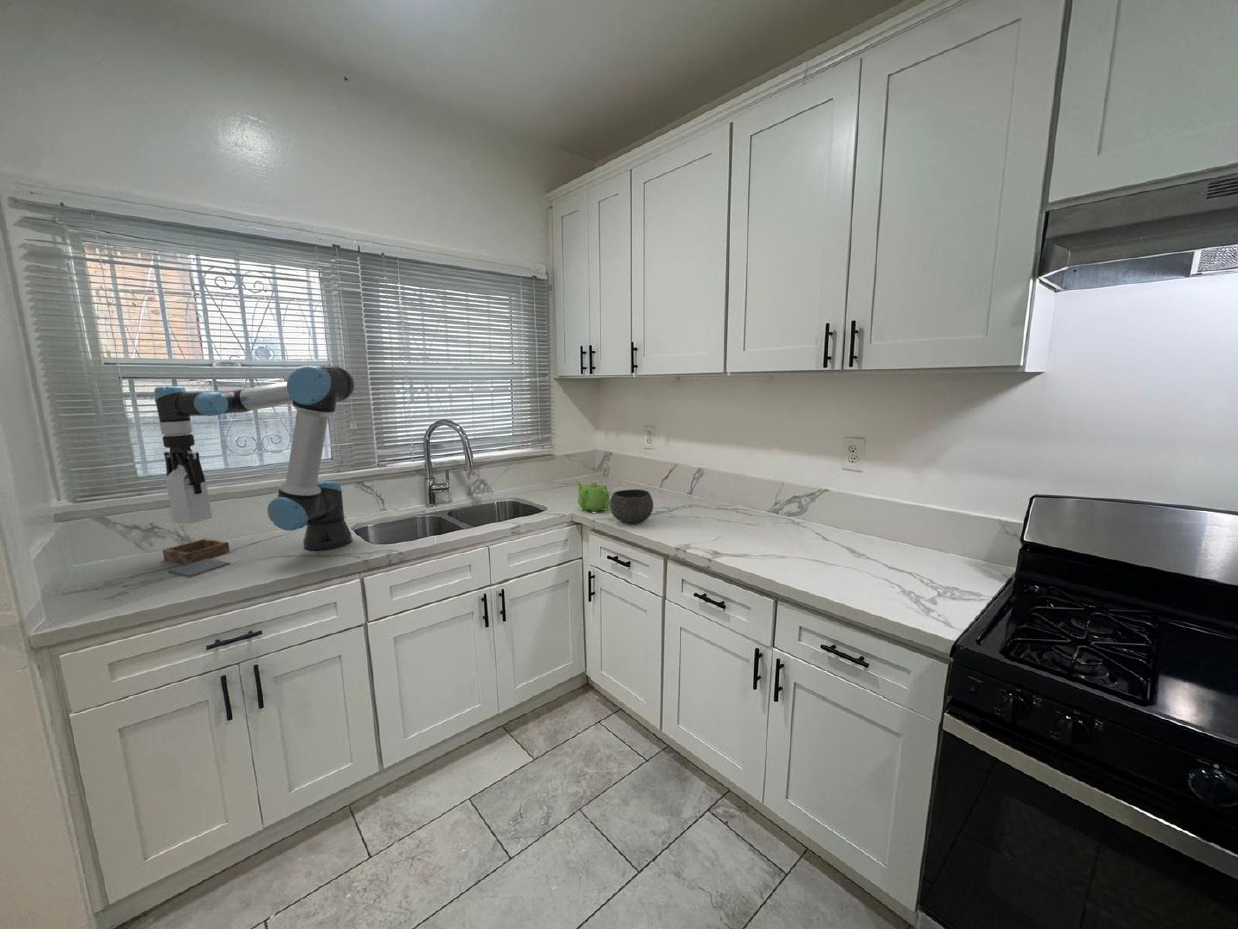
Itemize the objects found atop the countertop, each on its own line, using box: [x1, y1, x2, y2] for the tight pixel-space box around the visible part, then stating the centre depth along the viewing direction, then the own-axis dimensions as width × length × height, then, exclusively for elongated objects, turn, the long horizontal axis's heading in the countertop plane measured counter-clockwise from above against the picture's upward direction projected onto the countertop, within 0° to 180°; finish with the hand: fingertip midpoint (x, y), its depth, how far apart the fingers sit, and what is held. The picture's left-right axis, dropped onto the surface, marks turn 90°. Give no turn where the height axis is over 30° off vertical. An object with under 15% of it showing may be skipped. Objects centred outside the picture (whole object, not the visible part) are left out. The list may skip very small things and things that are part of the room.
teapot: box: [575, 480, 611, 513], centre depth 219 cm, size 16×14×13 cm
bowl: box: [609, 488, 654, 525], centre depth 200 cm, size 18×18×13 cm
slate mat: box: [167, 558, 230, 578], centre depth 154 cm, size 11×11×1 cm
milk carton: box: [165, 465, 213, 525], centre depth 161 cm, size 7×7×19 cm
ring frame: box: [162, 538, 231, 565], centre depth 165 cm, size 12×12×4 cm
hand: (190, 502), depth 162 cm, fingers closed on milk carton, 8 cm apart
